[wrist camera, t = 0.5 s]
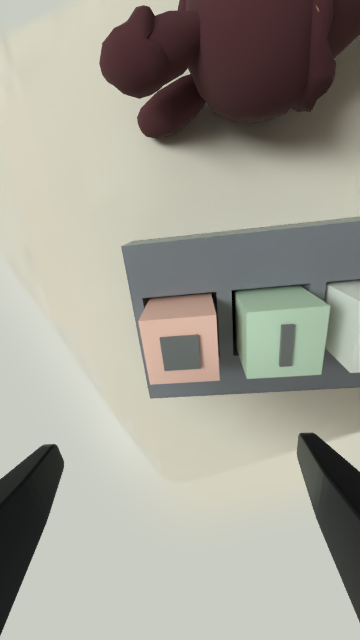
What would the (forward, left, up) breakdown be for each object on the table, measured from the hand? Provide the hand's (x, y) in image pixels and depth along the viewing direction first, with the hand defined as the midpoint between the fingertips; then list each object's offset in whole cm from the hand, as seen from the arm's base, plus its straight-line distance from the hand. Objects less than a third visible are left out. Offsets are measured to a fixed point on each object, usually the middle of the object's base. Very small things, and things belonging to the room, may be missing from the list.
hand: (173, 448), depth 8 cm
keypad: (-5, 0, -12) cm, 13 cm away
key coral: (0, 0, -10) cm, 10 cm away
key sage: (-5, 0, -10) cm, 11 cm away
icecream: (-5, -14, -12) cm, 19 cm away
